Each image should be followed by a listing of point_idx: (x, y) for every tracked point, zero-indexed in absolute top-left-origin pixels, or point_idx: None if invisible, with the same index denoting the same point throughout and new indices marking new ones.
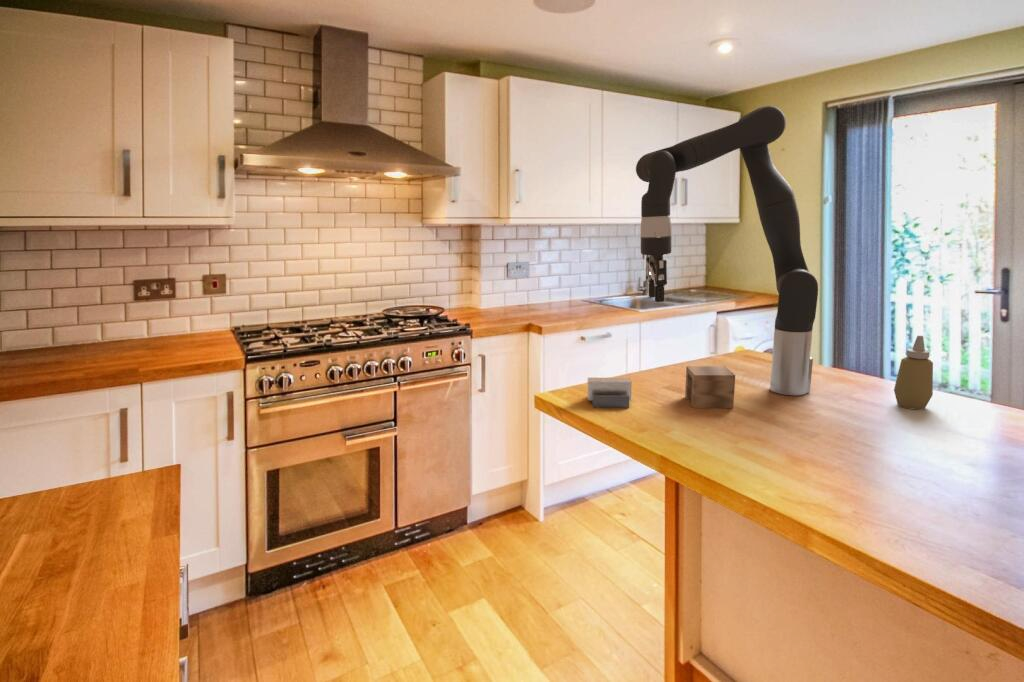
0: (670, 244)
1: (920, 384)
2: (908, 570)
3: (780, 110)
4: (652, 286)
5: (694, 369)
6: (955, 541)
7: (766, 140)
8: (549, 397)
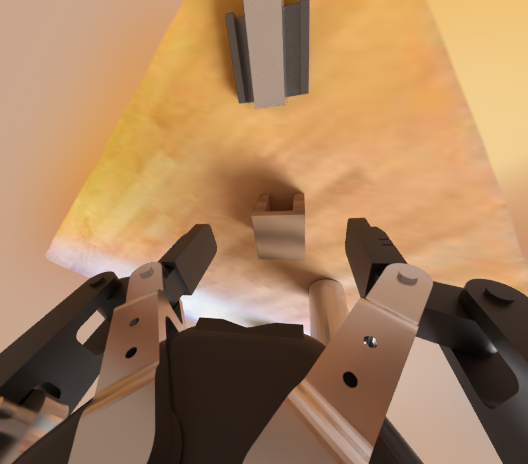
0: None
1: None
2: (52, 244)
3: None
4: (362, 265)
5: (284, 221)
6: (93, 269)
7: None
8: None
